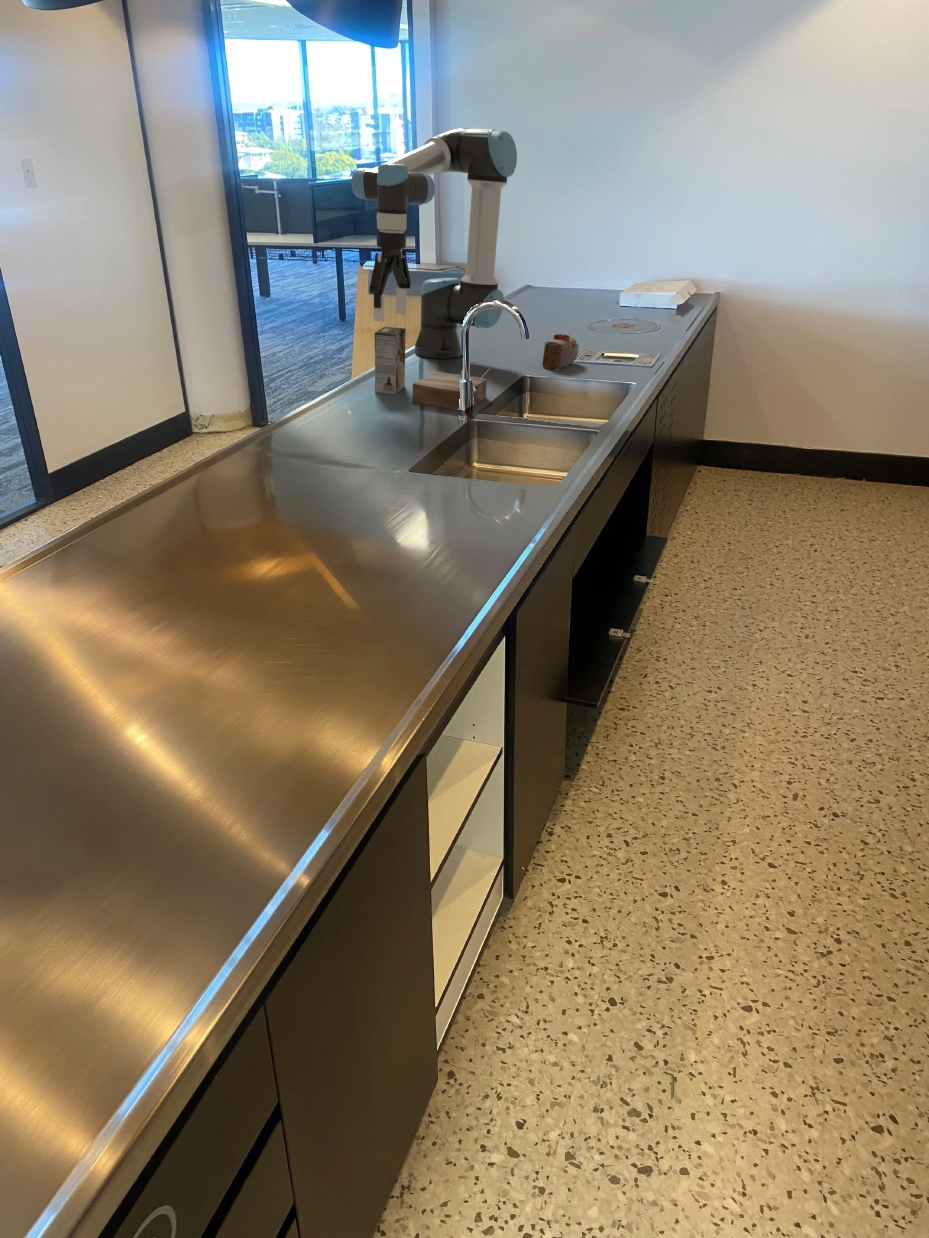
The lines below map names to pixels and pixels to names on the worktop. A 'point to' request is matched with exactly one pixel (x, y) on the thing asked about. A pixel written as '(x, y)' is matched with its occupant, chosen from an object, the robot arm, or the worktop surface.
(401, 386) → the coffee box
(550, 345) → the food item
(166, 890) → the worktop surface
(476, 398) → the walnut base
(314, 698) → the worktop surface
